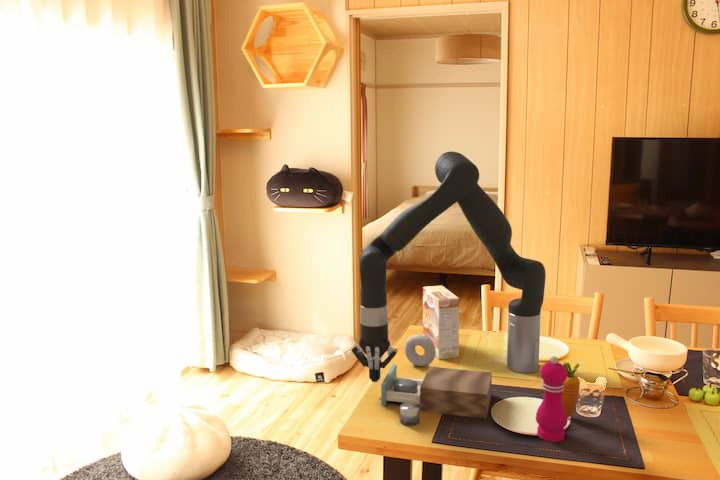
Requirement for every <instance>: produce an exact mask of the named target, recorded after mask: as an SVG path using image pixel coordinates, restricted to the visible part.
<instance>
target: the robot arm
mask: <svg viewBox="0 0 720 480" xmlns="http://www.w3.org/2000/svg"><path fill="white" fill-rule="evenodd" d="M434 172H435V177H436V179H437V181H438V182H439V183H440V184H439V186H438V187H437V188H436V190H435V191H433V192H432V193H431V194H430V195H429V196H428V197H426V198H425V199H424V200H421V201H420V202H418V203H416V204H414V205H412V206H409V207H408V208H406V209H405V210H404V211H402V212H401V213H400V214H398V215H397V216H396V217H395V218H394V219H393V221H391V223H389V225H388V226H387V227H385V229H384V230H383V231H382V232H381V234H379V235H377V237H375V238H374V239H372V241H370V242H369V243H368V244H367V245H366V246H365V247H364V248H363V249H362V251H361V253H360V255H359V275H360V277H359V278H360V290H359V292H360V295H359V296H360V298H359V299H360V307H359V330H360V331H359V334H360V339H359V341H358V344H355V345H354V346H353V347H352V348H351V353H352V354H354V356H355V357H356V359H357V360H358V361H359V363H360V364H361V365H362V366H363V367H365V368H366V367H367V368H368V375H369V380H371V383H377V382H378V381H379V380H380V379H381V377H382V376H381V375H382V374H381V373H382V371H381V369H386V367H387V365H388V364H390V362H391V361H392V360H393V359H394V357H395V356H396V355H397V353H398V349H397V348H394V347H392V346H391V343H390V341H389V311H388V310H389V309H388V302H387V301H388V296H387V286H386V285H387V262H388V261H389V260H390V259H391V258H392V257H393V256H395V254H396V253H398V252H400V251H402V250H404V248H406V246H408V245H409V244H410V243H411V242H412V241H413V240H414V239H415V238H416V237H417V235H419V234H420V232H421V231H422V230H424V229H425V228H426V227H427V226H428V225H429V224H430V223H431V222H433V221H434V220H435V219H437V218H438V217H439V216H440V215H442V214H443V213H444V212H446V211H447V210H448V209H450V208H451V207H452V206H454V205H455V204H456V203H457V204H458V206H459V208H460V210H461V211H462V213H463V215H464V217H465V219H466V221H467V222H468V223H469V225H470V227H471V228H472V230H473V232H474V233H475V235H476V236H477V238H478V239H479V240H480V242H481V243H482V245H483V246H484V247H485V249H486V250H487V252H488V253H489V255H490V256H491V259H493V261H494V263H495V265H496V267H497V269H498V272H499V273H500V274H501V277H502V279H503V280H504V282H505V283H506V284H507V286H510V287H511V288H515V289H517V290H521V292H522V293H521V298H520V297H519V298H514V299H512V300H511V301H509V303H508V307H507V311H508V312H507V340H506V341H507V343H506V344H507V346H506V347H507V348H506V367H507V369H509V370H511V371H513V372H517V373H522V374H523V373H525V374H528V373H529V374H530V373H535V372H536V373H538V372H539V367H540V365H539V363H540V337H541V312H542V311H541V310H542V306H543V303H544V297H545V287H546V279H547V278H546V275H547V274H546V268H545V265H544V263H542V262H541V261H540V260H539V261H538V260H535V259H530V258H527V257H522V256H520V255H519V254H518V253H517V252H516V250H515V249H514V248H513V246H512V245H511V241H512V237H513V231H512V230H513V229H512V226H511V224H510V222H509V220H508V218H507V217H506V216H505V214H504V212H503V211H502V209H501V208H500V207H499V206H498V204H497V203H496V202H495V200H493V199H492V197H491V196H489V195H488V193H487V192H486V191H485V190H484V189H482V187H481V186H480V185H479V180H480V171H479V168H478V166H477V165H476V164H474V163H473V162H472V161H471V160H470V159H469V158H467V157H466V155H464V154H462V153H460V152H458V151H446V152H444V153H441V155H439V156H438V158H437V159H436V161H435V165H434ZM386 352H387V355H388V356H387V357H386V358H385V359H384V360H383V361H382V358H383V356H384V354H386Z"/></svg>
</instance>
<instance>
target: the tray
mask: <svg viewBox="0 0 720 480" xmlns="http://www.w3.org/2000/svg"><path fill="white" fill-rule="evenodd" d="M397 375H398V374H397V364H394V363H393V364H392V365H391V367H390V369H389V370H388V372H387V374H386V375H385V378H384V379H383V381H382V383H381V384H380V385H381V387H380V388H381V389H380V391H381V406H383V407H385V406H386V405H387V404H388V401H389V402H398V403H406V402H412V403H416V404H418V405H420V387H421V385H422V382H423V380H424V379H418V378H417V379H416V378H409V377H408V378H407V377H398V376H397ZM398 379H411V380H414V381H416V382H417V392H416V393H415V394H414V393H404V392H395V391H394V382H395V381H396V380H398Z"/></svg>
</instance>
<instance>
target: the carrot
mask: <svg viewBox="0 0 720 480" xmlns="http://www.w3.org/2000/svg"><path fill="white" fill-rule="evenodd" d="M562 365H563V366H564V367H565V368H566V371H567V378H566V380H565V381H564V382H563V383H564V390H563V391H562V394H561V399H562V404H563V406H564V408H565V411H566V413H567V417H569V418H570V417H571V416H572V414H573V413H574V411H575V410H576V407H577V403H578V399H579V395H580V385H581V384H580V383H581V381H580V379H579V377H578V376H577V375H576V374H575V372H577V371H578V368H579V367H580V364H579V363H575V365H574V367H573V369H572V367H571V363H570V362H566V361H564V362H563V363H562Z"/></svg>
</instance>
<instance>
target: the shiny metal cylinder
mask: <svg viewBox="0 0 720 480" xmlns="http://www.w3.org/2000/svg"><path fill="white" fill-rule="evenodd" d="M399 422H400V424H401V425H403V426H406V427H415V426H418V425H419V424H420V404H416V403H412V402H402V403H401V404H400V406H399Z"/></svg>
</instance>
